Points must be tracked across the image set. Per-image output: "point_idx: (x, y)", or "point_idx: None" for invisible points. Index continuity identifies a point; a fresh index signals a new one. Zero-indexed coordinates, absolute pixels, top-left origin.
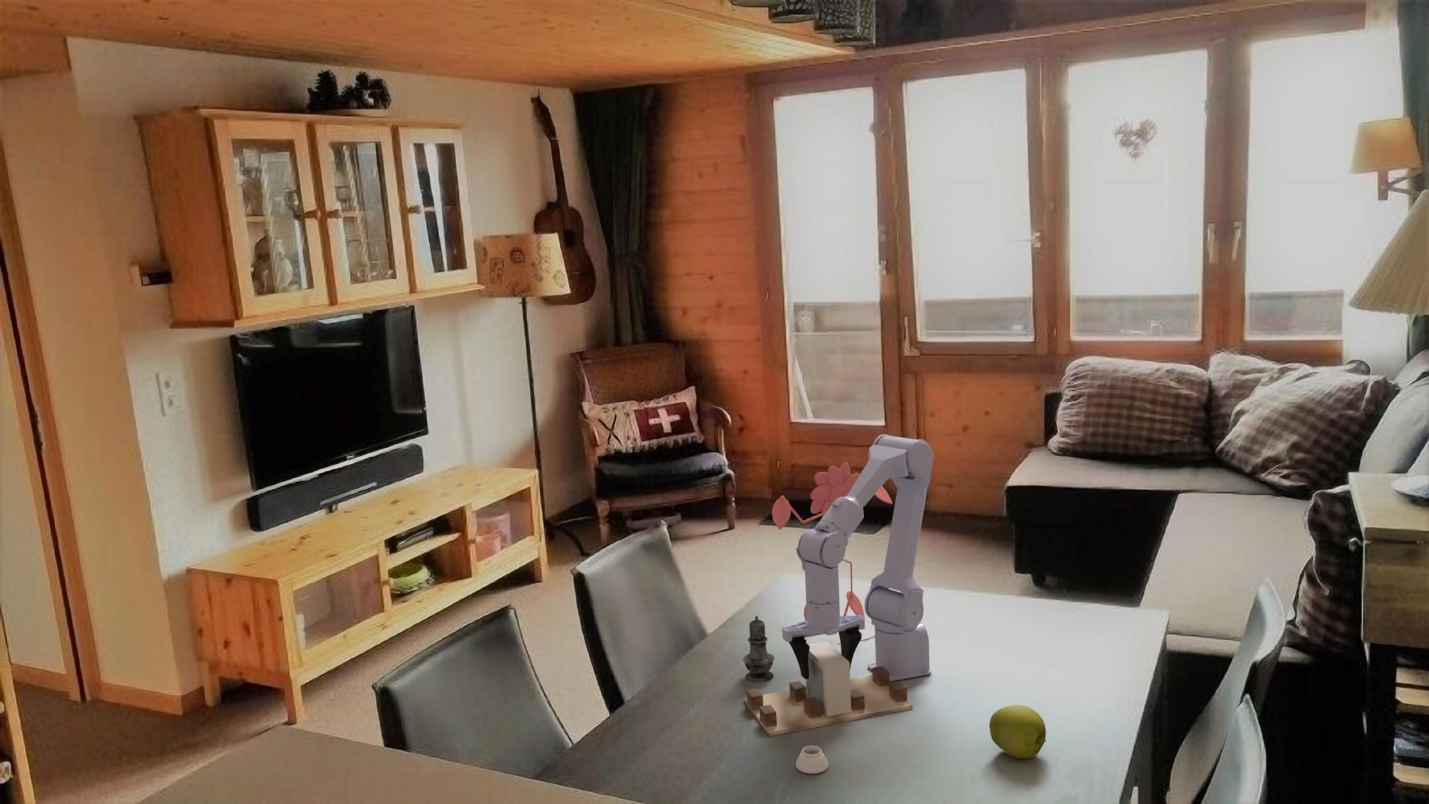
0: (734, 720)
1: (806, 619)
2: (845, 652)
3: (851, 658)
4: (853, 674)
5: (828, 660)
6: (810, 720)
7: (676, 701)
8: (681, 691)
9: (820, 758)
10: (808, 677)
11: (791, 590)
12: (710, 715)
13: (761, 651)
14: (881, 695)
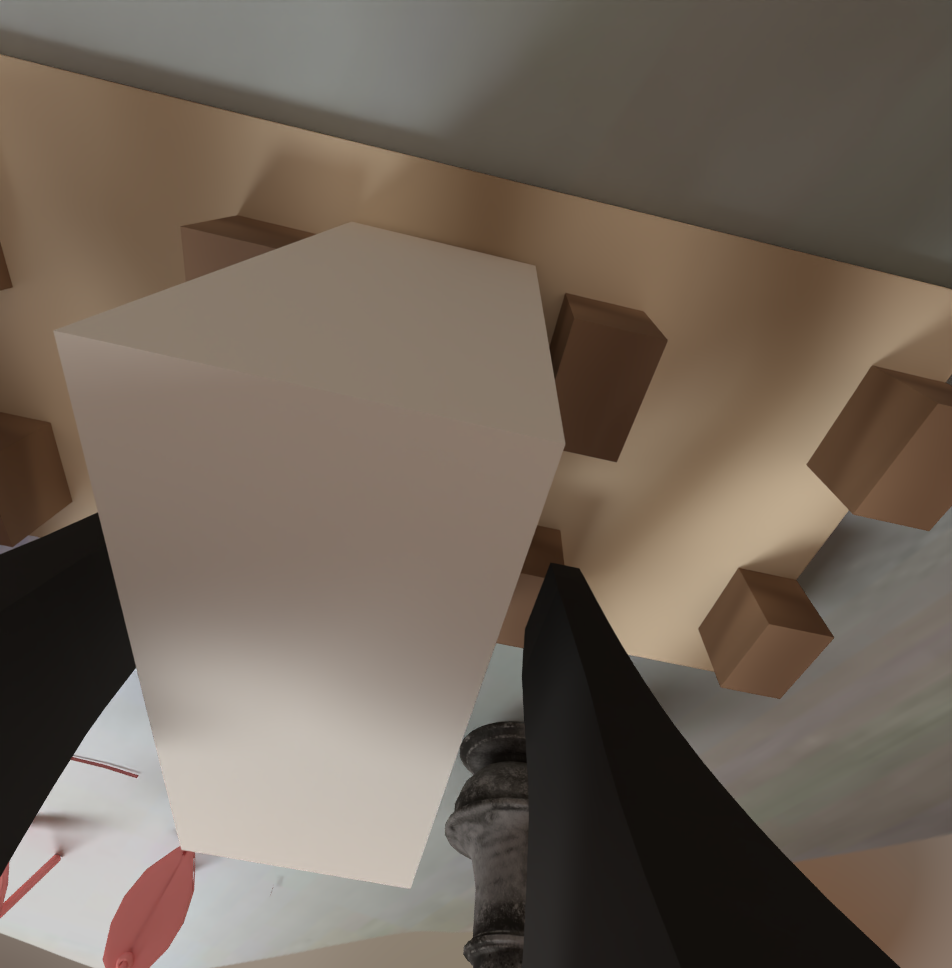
0: (914, 560)
1: (185, 901)
2: (62, 648)
3: (40, 545)
4: None
5: (378, 581)
6: (658, 291)
7: (903, 773)
8: (818, 805)
9: None
10: (555, 570)
11: (165, 956)
12: (935, 646)
13: (519, 877)
14: (65, 319)
